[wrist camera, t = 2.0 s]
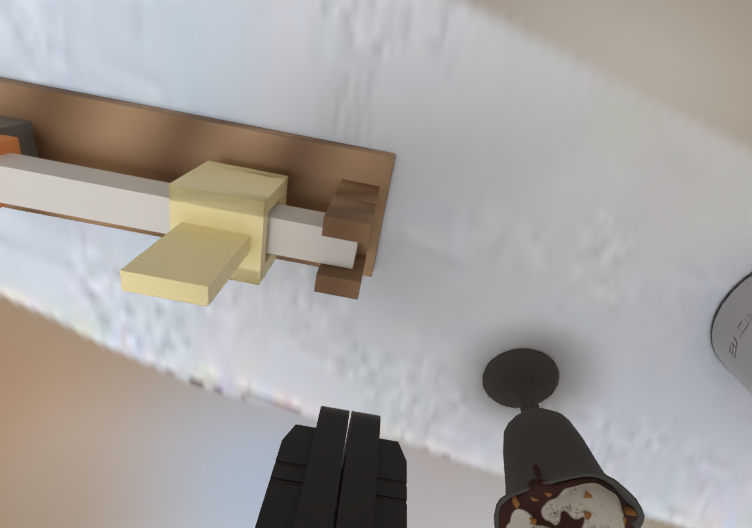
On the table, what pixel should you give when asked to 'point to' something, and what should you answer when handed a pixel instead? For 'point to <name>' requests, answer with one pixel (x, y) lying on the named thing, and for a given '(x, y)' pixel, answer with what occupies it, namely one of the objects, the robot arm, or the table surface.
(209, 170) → the marker sleeve
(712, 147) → the table surface
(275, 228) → the sliding door bolt
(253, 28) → the table surface
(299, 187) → the wooden bracket
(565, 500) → the sundae
